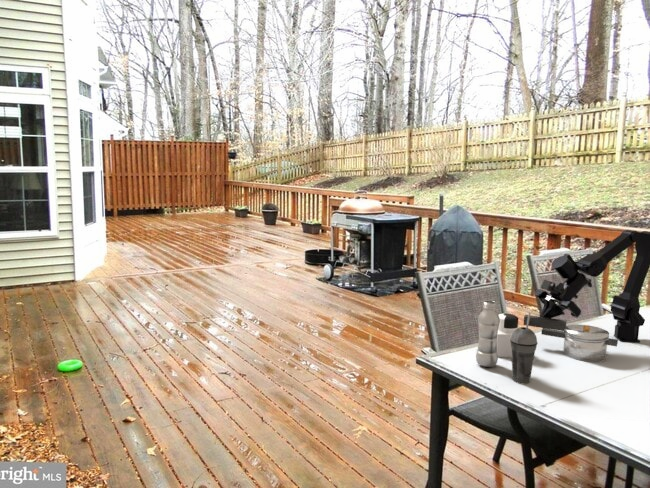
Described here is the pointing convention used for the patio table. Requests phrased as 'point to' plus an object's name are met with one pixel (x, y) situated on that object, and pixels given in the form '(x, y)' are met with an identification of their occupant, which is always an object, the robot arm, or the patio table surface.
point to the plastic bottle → (488, 335)
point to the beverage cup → (523, 353)
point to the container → (506, 334)
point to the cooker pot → (582, 346)
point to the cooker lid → (568, 328)
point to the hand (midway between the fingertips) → (539, 320)
